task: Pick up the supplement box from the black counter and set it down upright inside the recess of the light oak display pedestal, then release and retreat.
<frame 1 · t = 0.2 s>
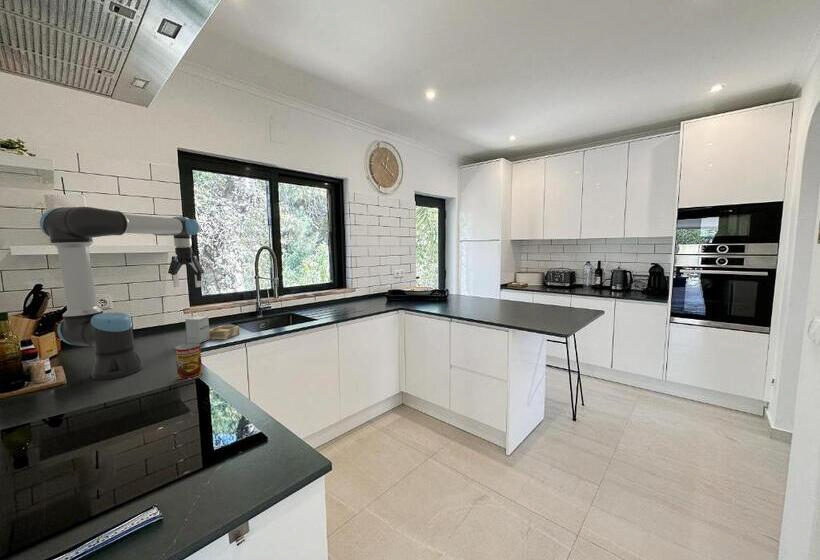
hand: (187, 286, 182), 27 cm above the countertop, tool pointing down, fingers open, 13 cm apart
supplement box: (199, 342, 175), on the countertop
display pedestal: (223, 336, 184), on the countertop
canned food: (190, 376, 130), on the countertop
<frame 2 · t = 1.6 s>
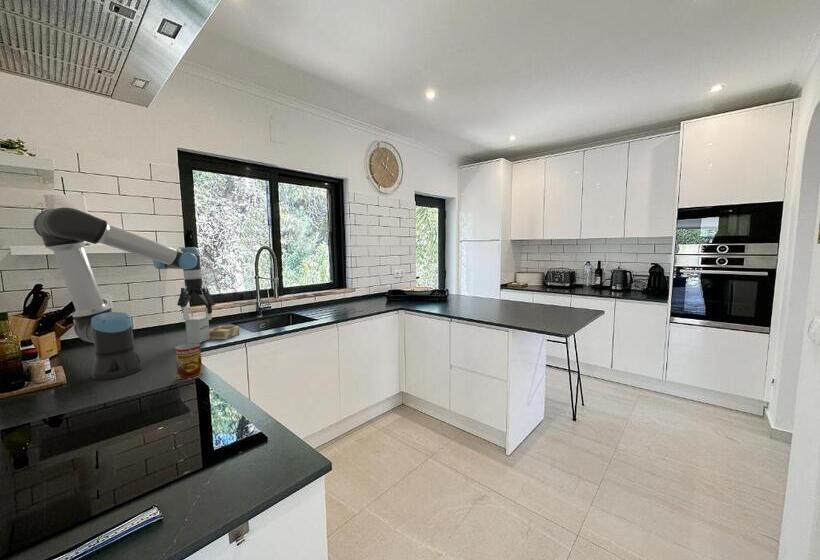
hand: (197, 319, 174), 12 cm above the countertop, tool pointing down, fingers open, 13 cm apart
nothing on the countertop moved.
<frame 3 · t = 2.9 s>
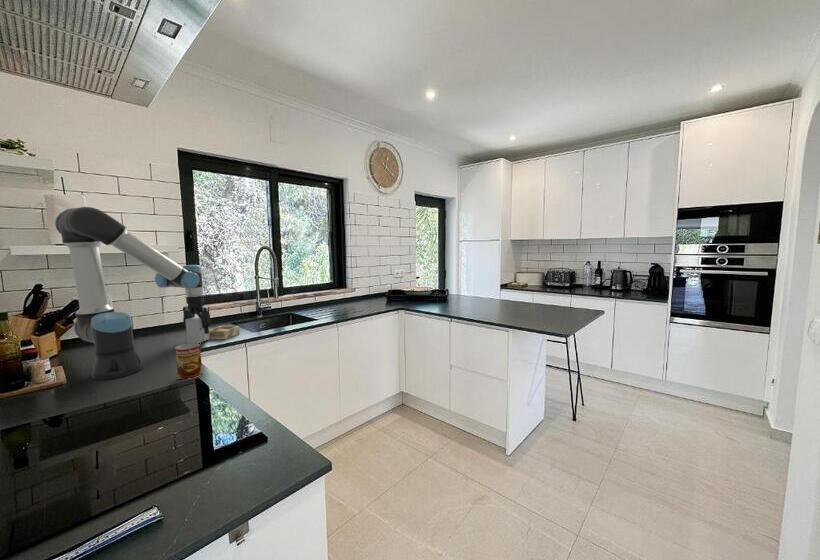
hand: (198, 339, 175), 1 cm above the countertop, tool pointing down, fingers closed on supplement box, 7 cm apart
supplement box: (199, 342, 175), on the countertop, touching gripper
everything else where it was.
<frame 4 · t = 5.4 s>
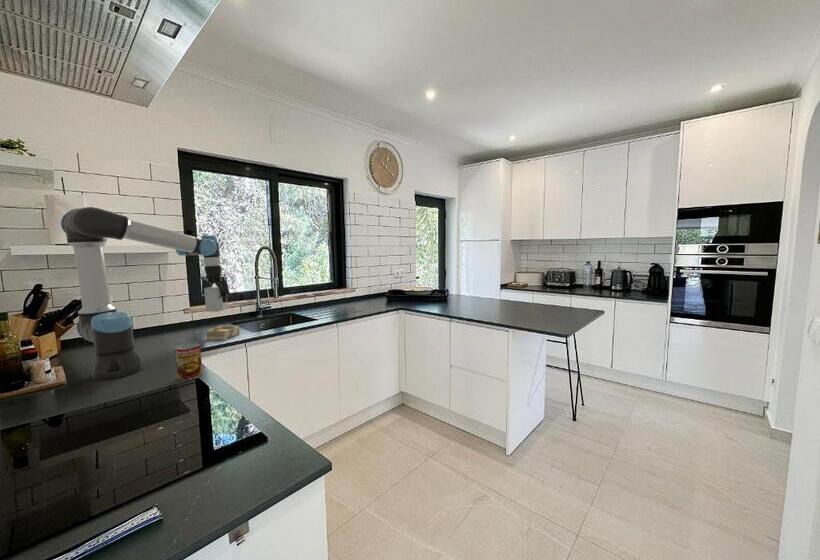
hand: (217, 308, 181), 16 cm above the countertop, tool pointing down, fingers closed on supplement box, 7 cm apart
supplement box: (217, 310, 181), point 14 cm above the countertop, touching gripper
everything else where it was.
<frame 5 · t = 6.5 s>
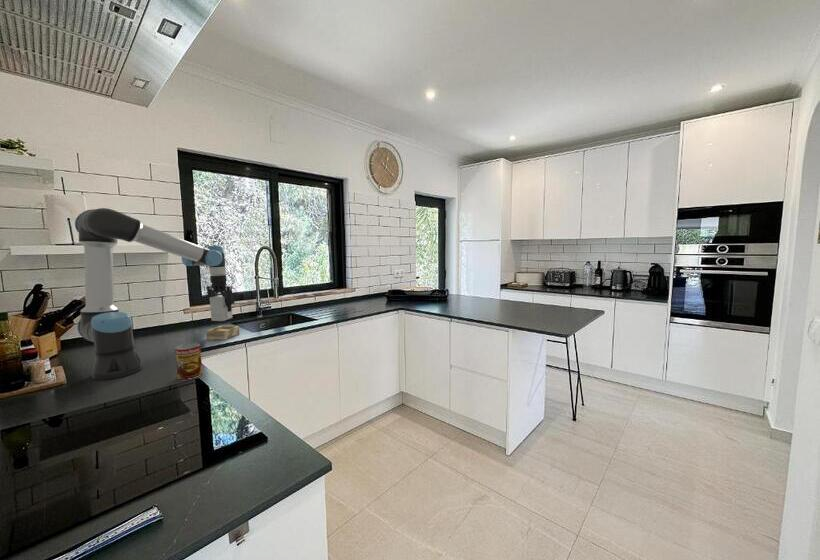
hand: (222, 317, 183), 11 cm above the countertop, tool pointing down, fingers closed on supplement box, 7 cm apart
supplement box: (222, 319, 183), point 9 cm above the countertop, touching gripper
everything else where it was.
when the fingers open (6 cm above the countertop, at t = 7.6 s): supplement box drops 2 cm, resting on display pedestal.
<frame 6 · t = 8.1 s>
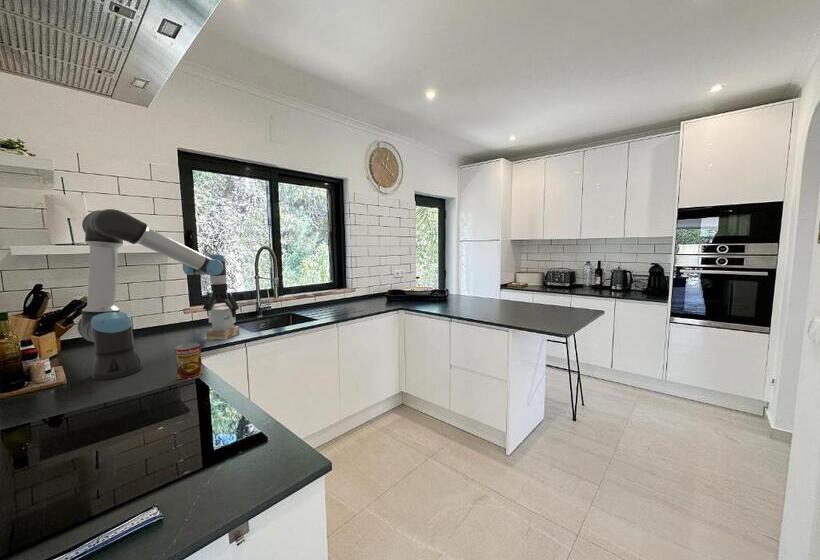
hand: (222, 322, 183), 8 cm above the countertop, tool pointing down, fingers open, 13 cm apart
supplement box: (223, 331, 184), point 3 cm above the countertop, touching display pedestal
everything else where it was.
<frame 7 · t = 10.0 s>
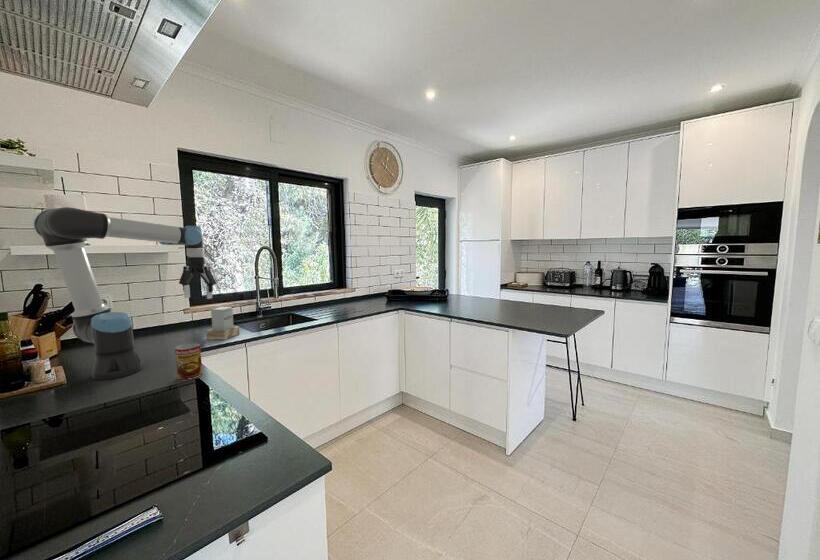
hand: (198, 298, 175), 22 cm above the countertop, tool pointing down, fingers open, 13 cm apart
nothing on the countertop moved.
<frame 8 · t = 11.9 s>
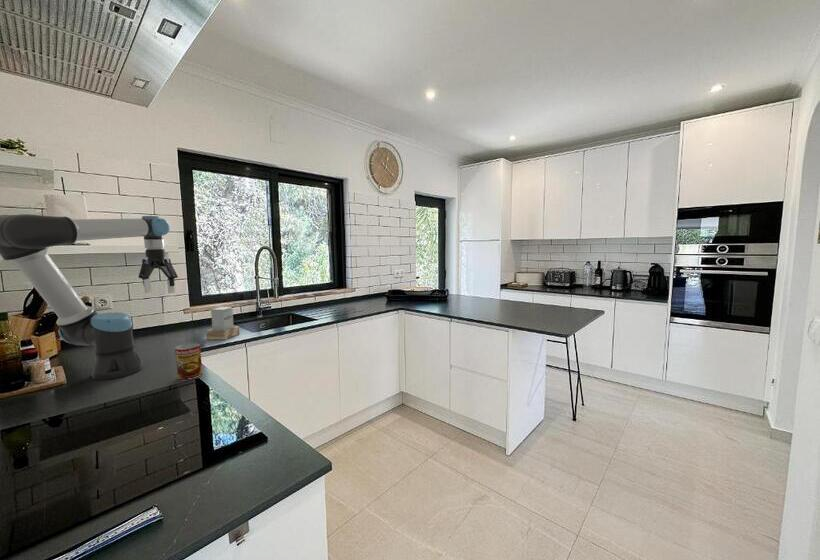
hand: (159, 292, 166), 27 cm above the countertop, tool pointing down, fingers open, 13 cm apart
nothing on the countertop moved.
at the end: supplement box 0.3 cm off-centre on the display pedestal, point 2.8 cm above the display pedestal's base; supplement box tilted 0°; the gripper is holding nothing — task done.
